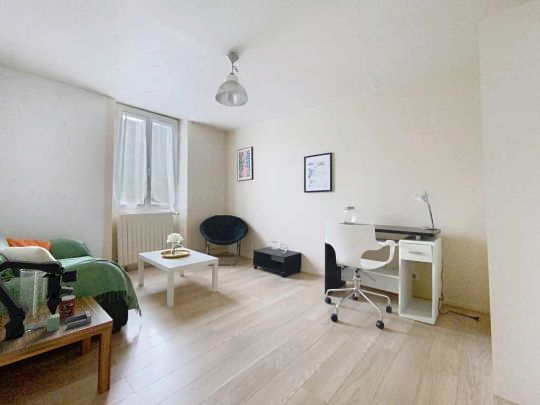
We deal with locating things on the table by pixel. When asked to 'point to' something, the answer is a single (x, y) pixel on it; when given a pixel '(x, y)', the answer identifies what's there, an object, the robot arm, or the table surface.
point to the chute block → (53, 322)
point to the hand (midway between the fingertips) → (53, 311)
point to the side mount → (78, 317)
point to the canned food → (67, 306)
